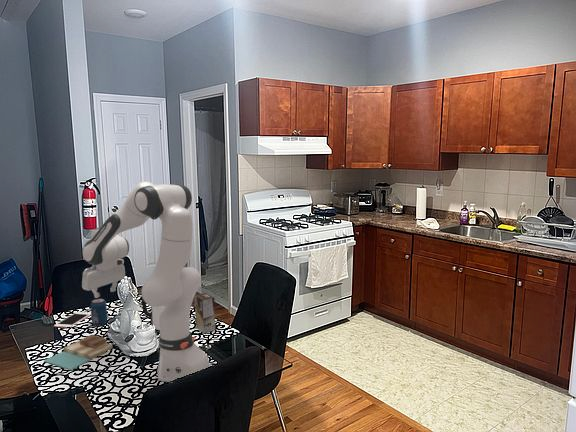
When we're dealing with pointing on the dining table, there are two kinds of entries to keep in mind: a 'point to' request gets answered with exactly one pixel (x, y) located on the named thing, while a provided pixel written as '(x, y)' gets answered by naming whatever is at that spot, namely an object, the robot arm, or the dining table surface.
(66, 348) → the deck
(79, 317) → the cell phone
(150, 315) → the coffee press
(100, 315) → the soda can
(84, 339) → the tile
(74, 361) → the mat
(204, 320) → the coffee box
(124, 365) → the dining table surface
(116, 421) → the dining table surface
